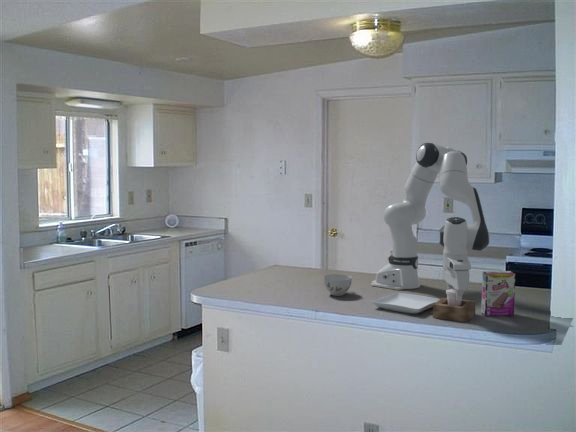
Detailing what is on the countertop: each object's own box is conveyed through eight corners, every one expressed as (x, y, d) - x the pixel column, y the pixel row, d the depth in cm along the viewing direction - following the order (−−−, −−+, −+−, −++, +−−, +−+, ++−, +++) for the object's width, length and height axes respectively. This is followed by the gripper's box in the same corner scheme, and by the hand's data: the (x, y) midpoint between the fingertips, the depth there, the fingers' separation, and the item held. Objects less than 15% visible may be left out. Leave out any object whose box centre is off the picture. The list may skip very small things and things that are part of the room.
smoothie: (451, 318, 225) (451, 281, 224) (442, 314, 231) (442, 278, 230) (466, 317, 227) (467, 280, 226) (457, 312, 233) (457, 277, 232)
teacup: (342, 299, 257) (342, 280, 256) (317, 295, 264) (317, 277, 264) (360, 292, 269) (359, 274, 268) (335, 288, 277) (335, 271, 276)
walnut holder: (432, 317, 227) (433, 304, 227) (442, 309, 238) (442, 297, 237) (466, 322, 221) (467, 308, 220) (475, 313, 231) (475, 301, 231)
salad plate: (396, 299, 258) (396, 291, 257) (443, 306, 244) (443, 298, 244) (370, 309, 241) (370, 301, 241) (418, 318, 228) (418, 309, 228)
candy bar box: (485, 316, 227) (486, 273, 225) (480, 313, 232) (481, 271, 230) (514, 316, 228) (516, 273, 226) (509, 312, 233) (510, 270, 231)
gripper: (438, 256, 237) (438, 291, 239) (455, 266, 217) (454, 304, 218) (454, 256, 238) (454, 290, 239) (472, 265, 217) (472, 303, 219)
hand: (454, 297), depth 229 cm, fingers open, 8 cm apart
